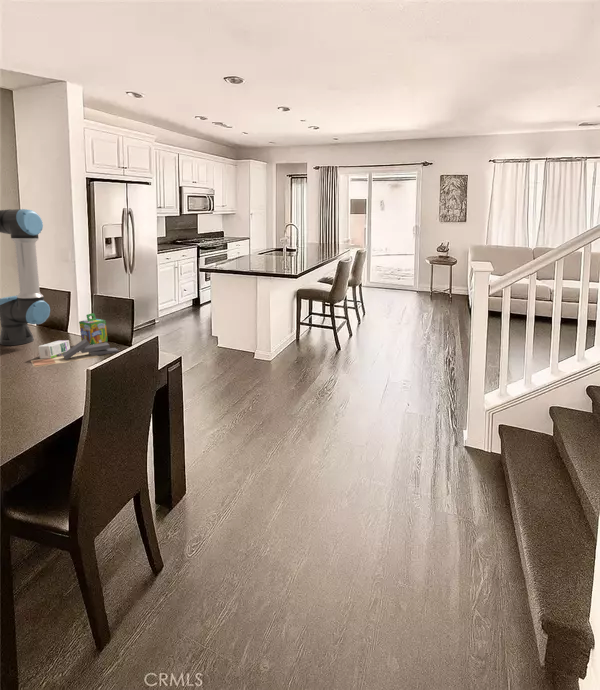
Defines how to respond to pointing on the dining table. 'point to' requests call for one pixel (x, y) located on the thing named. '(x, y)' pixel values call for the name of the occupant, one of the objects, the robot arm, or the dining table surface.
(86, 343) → the domino
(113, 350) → the domino
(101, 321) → the chalk box
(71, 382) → the dining table surface
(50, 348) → the syrup box
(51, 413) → the dining table surface
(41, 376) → the dining table surface
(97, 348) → the domino
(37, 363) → the birch board
